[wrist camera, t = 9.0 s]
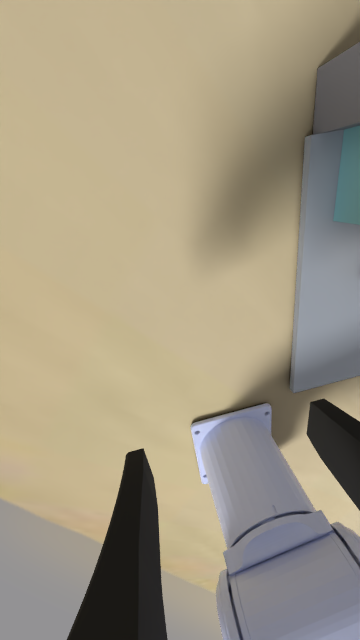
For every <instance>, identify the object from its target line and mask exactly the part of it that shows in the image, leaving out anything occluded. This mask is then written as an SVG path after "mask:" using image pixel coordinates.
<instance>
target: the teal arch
mask: <svg viewBox="0 0 360 640" xmlns="http://www.w3.org/2000/svg"><path fill="white" fill-rule="evenodd" d="M333 221H337V222H344V223H350V224H357V225H360V125H359V126H356V127H352V128H348V129H345V130H344V134H343V143H342V151H341V160H340V168H339V176H338V185H337V193H336V202H335V210H334V218H333Z"/></svg>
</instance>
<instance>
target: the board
mask: <svg viewBox="0 0 360 640" xmlns="http://www.w3.org/2000/svg"><path fill="white" fill-rule="evenodd" d="M344 130H345V129H344ZM344 130H338V131H332V132H327V133H321V134H315V135H310V136H307V137H305V144H304V161H303V177H302V194H301V210H300V227H299V243H298V260H297V276H296V293H295V309H294V325H293V342H292V358H291V375H290V390H291V391H292V392H293V393H297V392H300V391H304V390H308V389H311V388H315V387H319V386H323V385H326V384H330V383H334V382H337V381H341V380H345V379H349V378H352V377H356V376H360V225H357V224H350V223H344V222H337V221H333V218H334V210H335V202H336V193H337V185H338V176H339V168H340V160H341V151H342V143H343V134H344Z"/></svg>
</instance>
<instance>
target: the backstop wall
mask: <svg viewBox="0 0 360 640" xmlns="http://www.w3.org/2000/svg"><path fill="white" fill-rule="evenodd" d="M359 125H360V42H358V43H357V44H355V45H354V46H352V47H351V48H349V49H347V50H346V51H344V52H343V53H341V54H339V55H338V56H336V57H335V58H333V59H332V60H330V61H328V62H327V63H325V64H324V65H322V66H320V67H319V68H318V71H317V84H316V98H315V112H314V126H313V135H315V134H321V133H327V132H332V131H338V130H344V129H348V128H352V127H356V126H359Z"/></svg>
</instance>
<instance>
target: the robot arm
mask: <svg viewBox="0 0 360 640" xmlns="http://www.w3.org/2000/svg"><path fill="white" fill-rule="evenodd" d="M271 415H272V408H271V406H270V404H268V403H266V404H262V405H258V406H254V407H250V408H247V409H243V410H239V411H236V412H232V413H228V414H224V415H221V416H217V417H213V418H210V419H206V420H202V421H199V422H195V423H193V424H192V425H191V432H192V437H193V442H194V447H195V452H196V457H197V462H198V467H199V472H200V477H201V481H202V483H203V484H208V483H209V486H210V490H211V493H212V497H213V500H214V504H215V507H216V511H217V514H218V518H219V521H220V525H221V528H222V532H223V535H224V539H225V542H226V546H227V549H228V550H226V551H224V552H223V555H224V558H225V562H226V566H227V569H225V570H223V571H221V572H220V575H219V581H218V584H217V588H216V601H217V609H218V616H219V621H220V627H221V632H222V636H223V640H360V537H359V536H358V535H357V534H356V533H355V532H354V531H353V530H351V529H349V528H347V527H345V526H344V525H342V524H341V523H339V522H335V523H333V524H331V525H330V523H329V522H328V520H327V519H326V517H325V515H324V514H323V512H322V511H321V510H319V511H316V510H315V508H314V507H313V505H312V503H311V502H310V500H309V498H308V496H307V495H306V493H305V491H304V490H303V488H302V486H301V485H300V483H299V481H298V480H297V478H296V476H295V475H294V473H293V471H292V470H291V468H290V466H289V465H288V463H287V461H286V459H285V458H284V456H283V454H282V453H281V451H280V449H279V448H278V446H277V444H276V443H275V441H274V439H273V438H272V436H271ZM307 436H308V437H309V439H310V441H311V443H312V444H313V446H314V448H315V449H316V451H317V453H318V454H319V456H320V458H321V459H322V460H323V462H324V463H325V465H326V466H327V467H328V469H329V470H330V471H331V473H332V474H333V475H334V477H335V478H336V480H337V481H338V482H339V484H340V485H341V486H342V488H343V489H344V490H345V492H346V493H347V494H348V496H349V497H350V498H351V500H352V501H353V502H354V504H355V505H356V506H357V508H358V509H359V510H360V422H359V421H358V420H356V419H355V418H353V417H352V416H350V415H348V414H347V413H345V412H344V411H342V410H341V409H339V408H338V407H336V406H335V405H333V404H331V403H330V402H328V401H327V400H325V399H320V400H317V401H313V402H310V411H309V419H308V427H307ZM67 640H167V633H166V624H165V615H164V606H163V597H162V585H161V566H160V544H159V523H158V505H157V498H156V490H155V483H154V477H153V474H152V472H151V469H150V466H149V463H148V460H147V457H146V455H145V452H144V449H139V450H135V451H132V452H128V453H127V455H126V459H125V465H124V470H123V475H122V480H121V484H120V488H119V492H118V496H117V500H116V504H115V507H114V511H113V515H112V518H111V522H110V525H109V528H108V531H107V534H106V537H105V541H104V544H103V547H102V550H101V553H100V556H99V559H98V562H97V565H96V567H95V570H94V573H93V576H92V578H91V581H90V584H89V586H88V589H87V592H86V594H85V597H84V599H83V602H82V604H81V607H80V609H79V612H78V614H77V616H76V619H75V621H74V624H73V626H72V629H71V631H70V633H69V636H68V638H67Z"/></svg>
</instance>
